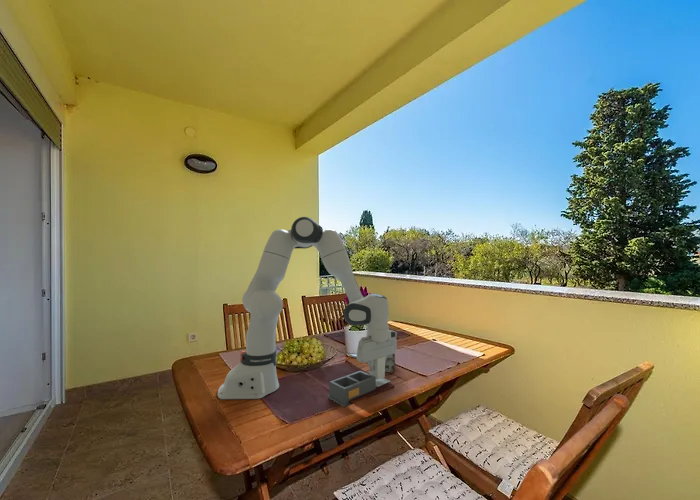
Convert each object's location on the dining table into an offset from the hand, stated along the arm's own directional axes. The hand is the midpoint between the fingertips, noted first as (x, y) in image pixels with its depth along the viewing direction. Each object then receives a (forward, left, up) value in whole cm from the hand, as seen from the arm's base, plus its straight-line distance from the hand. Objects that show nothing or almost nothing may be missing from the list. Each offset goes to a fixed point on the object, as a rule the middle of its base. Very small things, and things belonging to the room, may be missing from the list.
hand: (377, 368), depth 120 cm
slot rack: (-7, -4, -7) cm, 11 cm away
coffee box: (+10, +13, -7) cm, 18 cm away
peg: (0, 0, -3) cm, 3 cm away
